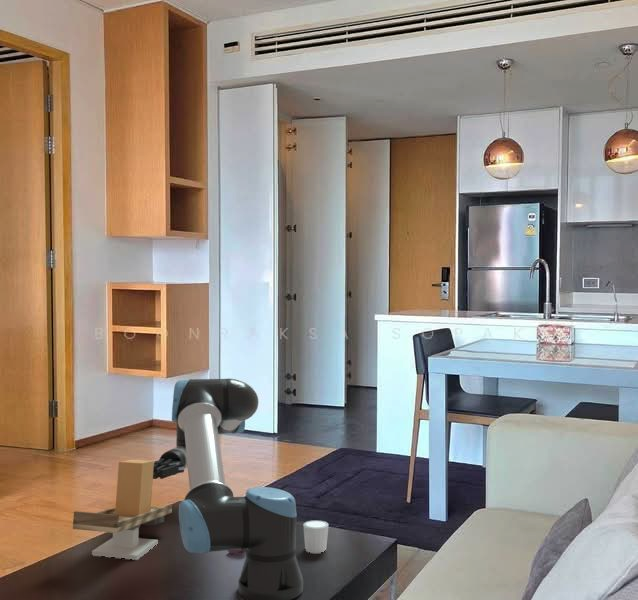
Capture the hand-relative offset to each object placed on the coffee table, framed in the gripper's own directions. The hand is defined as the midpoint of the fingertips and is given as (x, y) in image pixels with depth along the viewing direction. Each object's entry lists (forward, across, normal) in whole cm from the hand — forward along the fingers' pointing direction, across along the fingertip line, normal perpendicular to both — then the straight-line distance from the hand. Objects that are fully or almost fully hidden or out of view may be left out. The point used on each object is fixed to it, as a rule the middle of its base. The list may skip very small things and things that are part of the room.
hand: (139, 480), depth 204 cm
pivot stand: (+9, -1, -16) cm, 19 cm away
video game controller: (0, -31, -17) cm, 35 cm away
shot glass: (-4, -50, -17) cm, 53 cm away
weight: (+5, -1, -8) cm, 9 cm away
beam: (+10, -1, -11) cm, 15 cm away
